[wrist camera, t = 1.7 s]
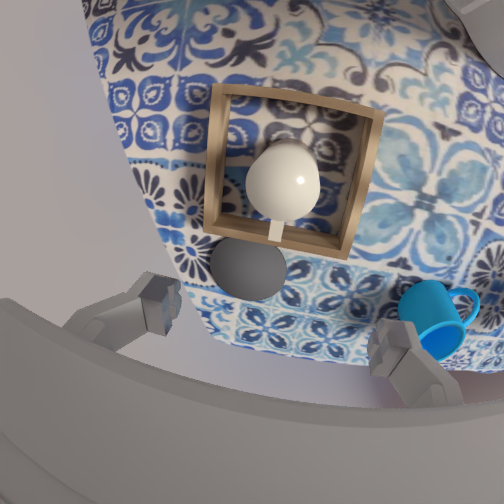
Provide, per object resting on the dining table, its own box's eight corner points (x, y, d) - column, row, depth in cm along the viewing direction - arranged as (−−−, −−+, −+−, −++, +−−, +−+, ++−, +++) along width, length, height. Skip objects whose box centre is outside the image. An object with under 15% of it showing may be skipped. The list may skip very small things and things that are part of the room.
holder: (223, 85, 25) (212, 83, 22) (376, 110, 23) (385, 111, 20) (212, 219, 33) (203, 232, 30) (343, 244, 32) (346, 260, 29)
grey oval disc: (212, 226, 34) (210, 228, 33) (293, 242, 33) (292, 244, 32) (210, 289, 39) (208, 291, 39) (279, 304, 38) (278, 307, 38)
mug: (405, 330, 37) (415, 372, 30) (390, 295, 34) (402, 339, 27) (470, 297, 31) (490, 334, 24) (463, 257, 29) (488, 295, 22)
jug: (265, 134, 27) (249, 145, 20) (321, 144, 27) (326, 158, 20) (255, 209, 32) (239, 242, 25) (307, 219, 31) (305, 255, 24)
